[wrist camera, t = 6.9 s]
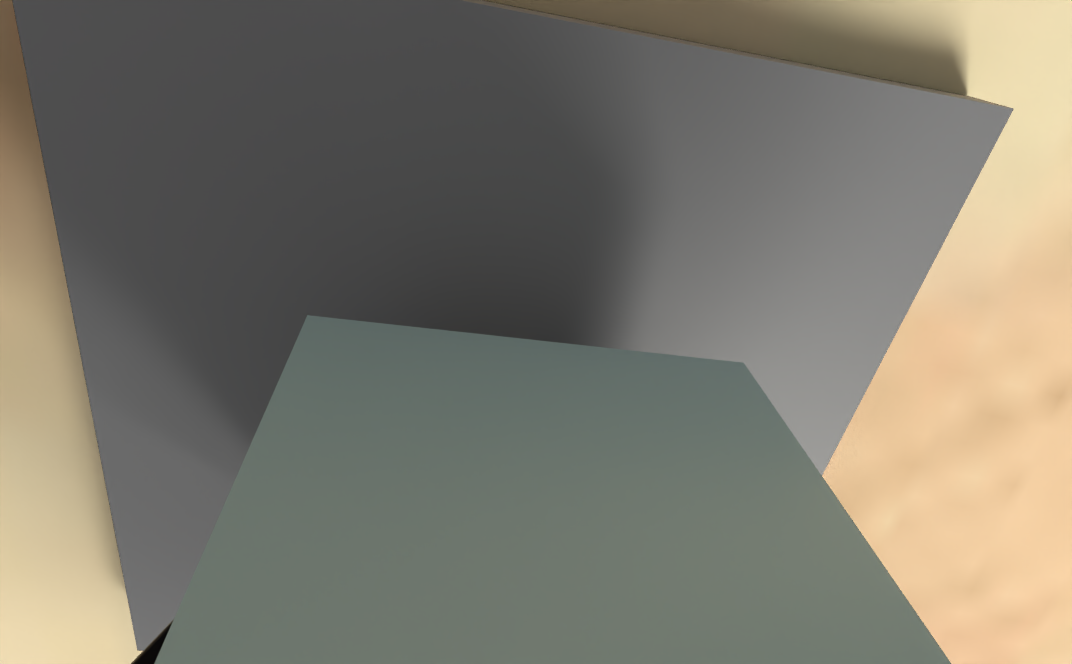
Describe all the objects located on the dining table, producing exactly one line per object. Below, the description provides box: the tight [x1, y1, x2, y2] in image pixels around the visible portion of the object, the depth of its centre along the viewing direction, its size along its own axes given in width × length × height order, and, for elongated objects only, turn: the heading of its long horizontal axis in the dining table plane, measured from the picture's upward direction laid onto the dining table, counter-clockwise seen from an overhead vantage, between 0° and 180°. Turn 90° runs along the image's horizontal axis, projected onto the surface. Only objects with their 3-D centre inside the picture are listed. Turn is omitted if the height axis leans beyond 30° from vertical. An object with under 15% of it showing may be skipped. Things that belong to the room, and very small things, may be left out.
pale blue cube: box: [154, 315, 951, 664], centre depth 8 cm, size 6×6×5 cm
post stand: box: [12, 0, 1013, 651], centre depth 11 cm, size 14×14×5 cm
